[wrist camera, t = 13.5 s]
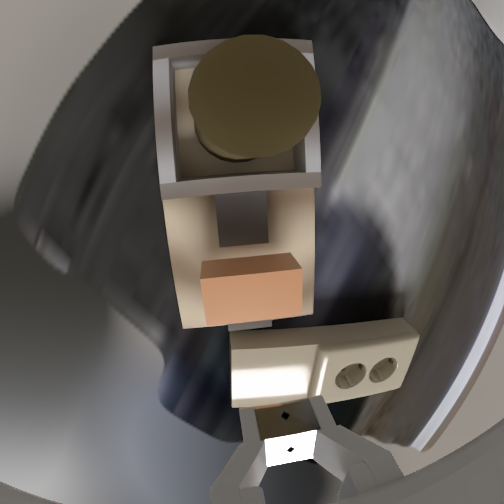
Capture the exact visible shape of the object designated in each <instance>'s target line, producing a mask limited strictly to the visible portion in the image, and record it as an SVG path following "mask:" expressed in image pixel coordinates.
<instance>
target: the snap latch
mask: <svg viewBox="0 0 504 504" xmlns="http://www.w3.org/2000/svg"><path fill="white" fill-rule="evenodd" d="M302 282H303V268H302V267H301V266H300V264H299V263H298V262H297V260H296V259H295V258H294V256H293V255H292V254H291V252H290V253H279V254H269V255H259V256H249V257H238V258H228V259H218V260H207V261H202V263H201V273H200V284H201V291H202V298H203V304H204V311H205V318H206V324H207V326H214V325H224V324H234V323H244V322H253V321H261V320H269V319H277V318H285V317H292V316H300V315H302Z"/></svg>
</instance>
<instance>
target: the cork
mask: <svg viewBox="0 0 504 504" xmlns="http://www.w3.org/2000/svg"><path fill="white" fill-rule="evenodd" d="M188 100H189V110H190V112H191V115H192V117H193V119H194V128H195V133H196V135H197V138H198V140H199V142H200V144H201V145H202V146H203V147H204V148H205V149H206V151H207V152H208V153H209V154H211V155H213V156H215V157H216V158H218V159H220V160H223V161H228V162H232V163H237V162H248V161H250V160H253V159H255V158H261V157H272V156H274V155H277V154H280V153H282V152H285V151H288V150H290V149H291V148H292V147H294V146H295V145H296V144H297V143H299V142H300V141H301V140H303V139H304V138H305V137H306V135H307V134H308V132H309V131H310V129H311V128H312V126H313V125H314V123H315V121H316V120H317V117H318V113H319V109H320V105H321V90H320V82H319V80H318V77H317V75H316V73H315V70H314V68H313V66H312V64H311V63H310V62H309V61H308V60H307V59H306V57H305V56H304V55H303V54H302V53H301V52H300V51H299V50H298V49H296V48H295V47H293V46H291V45H290V44H288V43H287V42H285V41H283V40H281V39H277V38H274V37H270V36H266V35H241V36H237V37H234V38H231V39H228V40H225V41H223V42H221V43H220V44H218V45H217V46H215V47H214V48H212V49H211V50H210V51H208V52H207V53H206V54H205V56H204V57H203V58H202V60H201V61H200V62H199V64H198V65H197V66H196V68H195V69H194V71H193V74H192V77H191V80H190V84H189V87H188Z"/></svg>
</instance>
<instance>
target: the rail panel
mask: <svg viewBox="0 0 504 504" xmlns="http://www.w3.org/2000/svg"><path fill="white" fill-rule="evenodd" d="M277 39H281V38H277ZM225 40H228V39H213V40H201V41H191V42H182V43H174V44H167V45H161V46H155V47H153V94H154V116H155V133H156V147H157V159H158V170H159V181H160V190H161V199H162V200H163V207H164V215H165V223H166V230H167V238H168V245H169V251H170V258H171V264H172V270H173V276H174V282H175V288H176V294H177V299H178V305H179V310H180V315H181V320H182V325H183V329H184V328H197V327H209V326H207V324H206V318H205V311H204V304H203V298H202V291H201V284H200V273H201V263H202V261H207V260H218V259H228V258H238V257H249V256H259V255H269V254H279V253H290V252H291V254H292V255H293V256H294V258H295V259H296V260H297V262H298V263H299V264H300V266H301V267H302V268H303V282H302V315H300V316H303V315H310V314H313V302H314V261H315V207H314V188H321V155H320V133H319V116H318V117H317V120H316V121H315V123H314V125H313V126H312V128H311V129H310V131H309V132H308V134H307V135H306V137H305V138H304V139H303V140H301V141H300V142H299V143H297V144H296V145H295V146H294V147H292V148H291V149H290V150H288V151H285V152H282V153H280V154H277V155H274V156H272V157H261V158H255V159H253V160H250V161H248V162H237V163H232V162H228V161H223V160H220V159H218V158H216V157H215V156H213V155H211V154H209V153H208V152H207V151H206V149H205V148H204V147H203V146H202V145H201V144H200V142H199V140H198V138H197V135H196V133H195V128H194V119H193V117H192V115H191V112H190V110H189V100H188V87H189V84H190V80H191V77H192V74H193V71H194V69H195V68H196V66H197V65H198V64H199V62H200V61H201V60H202V58H203V57H204V56H205V54H206V53H207V52H208V51H210V50H211V49H212V48H214V47H215V46H217V45H218V44H220V43H221V42H223V41H225ZM281 40H283V41H285V42H287V43H288V44H290V45H291V46H293V47H295V48H296V49H298V50H299V51H300V52H301V53H302V54H303V55H304V56H305V57H306V59H307V60H308V61H309V62H310V63H311V64H312V66H313V68H314V70H315V67H314V57H313V48H312V40H299V39H281ZM292 317H296V316H292ZM285 318H289V317H285ZM277 319H282V318H277ZM272 320H274V319H269V320H261V321H253V322H244V323H234V324H224V325H228V330H229V331H237V330H246V329H255V328H263V327H271V326H272ZM214 326H220V325H214Z"/></svg>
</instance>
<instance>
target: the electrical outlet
mask: <svg viewBox="0 0 504 504" xmlns="http://www.w3.org/2000/svg"><path fill="white" fill-rule="evenodd" d="M229 337H230V393H231V404H232V408H233V407H252V406H263V405H271V404H278V403H282V402H288V401H293V400H298V399H303V398H309V397H313V396H318V395H322V396H323V398H324V400H325V402H326V403H331V402H337V401H343V400H348V399H353V398H358V397H363V396H368V395H372V394H377V393H381V392H385V391H389V390H393V389H397V388H399V387H400V386H401V384H402V382H403V380H404V377H405V375H406V372H407V370H408V367H409V365H410V362H411V360H412V357H413V354H414V352H415V349H416V346H417V343H418V340H419V337H420V336H419V333H418V332H416V330H415V329H414V328H413V327H412V326H411V325H410V324H409V323H407V322H406V321H405V320H404V319H403V318H402V317H400V318H393V319H385V320H377V321H368V322H359V323H350V324H340V325H329V326H317V327H304V328H288V329H270V330H246V331H229Z"/></svg>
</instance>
